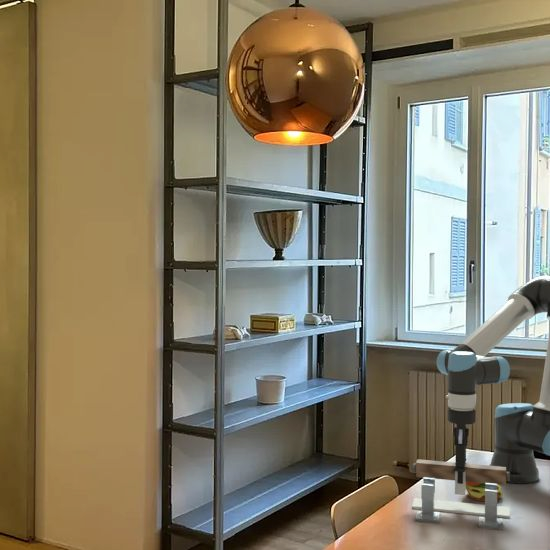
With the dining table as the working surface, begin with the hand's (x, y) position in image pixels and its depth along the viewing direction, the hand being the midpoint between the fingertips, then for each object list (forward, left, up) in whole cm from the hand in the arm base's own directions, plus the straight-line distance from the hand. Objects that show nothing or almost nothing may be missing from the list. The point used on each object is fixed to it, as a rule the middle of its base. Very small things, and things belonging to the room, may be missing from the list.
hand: (460, 491), depth 201 cm
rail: (0, 0, +4) cm, 4 cm away
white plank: (0, 0, -5) cm, 5 cm away
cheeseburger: (-13, -5, -5) cm, 14 cm away
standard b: (+1, +13, -5) cm, 14 cm away
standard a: (+13, +1, -5) cm, 14 cm away
